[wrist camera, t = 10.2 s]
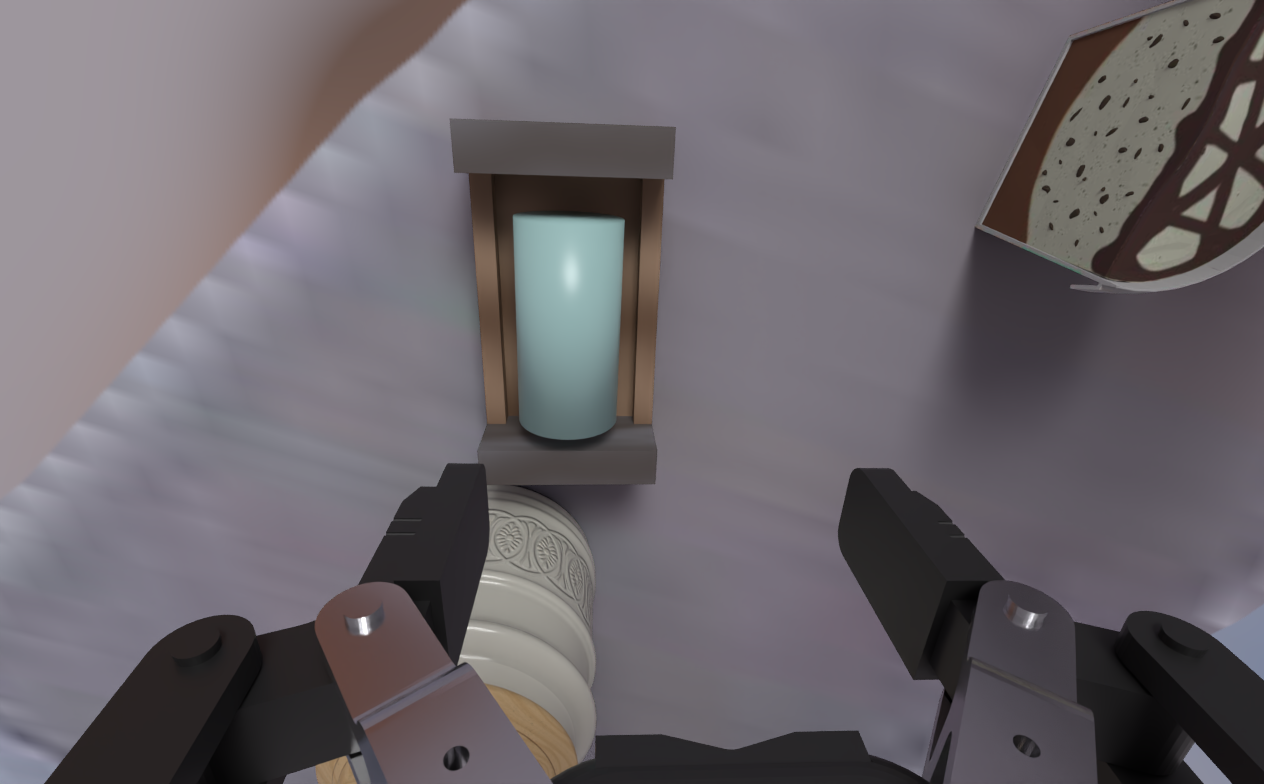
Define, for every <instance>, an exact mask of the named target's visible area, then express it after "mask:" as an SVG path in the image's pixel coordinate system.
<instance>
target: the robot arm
mask: <svg viewBox="0 0 1264 784" xmlns="http://www.w3.org/2000/svg"><path fill="white" fill-rule="evenodd" d="M489 537H490V521H489V507H488V493H487V480H486V470H485V466H484V464H457V463H449V464H447V465H446V467H445V469H444V471H443V474H442V476H441V478H440V480H439V482H438V485H437V487H420V488H418V489H417V490H416V491H415V492H413V493H412V494H411V495H410V496H408V497H407V498H406V499H405V500H404V501H402V503H401V505H400V507H399V509H398V511H397V513H396V515H395V517H394V521H392V522H391V524H390V526H389V528H388V530H387V532H386V536H384V537H383V539H382V541H381V543H380V545H379V547H378V548H377V550H376V552H375V554H374V556H373V558H372V560H371V562H370V563H369V565H368V567H367V569H366V571H365V573H364V575H363V577H362V578H361V580H360V582H359V584H358V585H357V586H354V587H351V588H349V589H347V590H345V591H343V592H341V593H339V594H338V595H336V596H335V597H333V598H332V599H331V600H330V601H328V602H327V603H326V604H325V605H324V607H323V608H322V609H321V610H320V612H319V614H318V616H317V618H316V620H315V621H312V622H310V623H307V624H303V625H300V626H296V627H292V628H287V629H283V630H279V631H275V632H271V633H267V634H262V635H258V636H256V634H255V630H254V627H253V625H252V624H251V623H250V621H248V620H247V619H245V618H243V617H240V616H235V615H218V616H212V617H207V618H203V619H200V620H197V621H194V622H192V623H189V624H187V625H185V626H183V627H181V628H179V629H177V630H175V631H173V632H172V633H170V634H168V635H167V636H166V637H164V638H163V639H162V640H160V641H159V642H158V643H157V644H156V645H154V646H153V647H152V648H151V649H150V651H149V652H148V653H147V654H146V655H145V656H144V658H143V659H142V660H141V662H140V663H139V664H138V665H137V667H136V668H135V669H134V670H133V672H132V673H131V674H130V675H129V677H128V678H127V679H126V681H125V682H124V683H123V684H122V686H121V687H120V688H119V689H118V691H117V692H116V693H115V694H114V696H113V697H112V698H111V700H110V701H109V702H108V703H107V705H106V706H105V707H104V708H103V710H102V711H101V712H100V714H99V715H98V716H97V717H96V719H95V720H94V721H93V722H92V724H91V725H90V726H89V727H88V729H87V730H86V731H85V733H84V734H83V735H82V736H81V738H80V739H79V740H78V741H77V743H76V744H75V745H74V747H73V748H72V749H71V750H70V752H69V753H68V754H67V755H66V757H65V758H64V759H63V760H62V762H61V763H60V764H59V766H58V767H57V768H56V769H55V771H54V772H53V773H52V774H51V776H50V777H49V778H48V779H47V781H46V782H45V783H44V784H283V782H284V779H285V777H286V775H287V774H290V773H294V772H297V771H300V770H303V769H306V768H309V767H312V766H315V765H318V764H321V763H325V762H328V761H331V760H334V759H337V758H340V757H343V756H346V757H347V760H348V762H349V765H350V767H351V770H352V772H353V775H354V777H355V780H356V782H357V784H1203V783H1202V781H1201V780H1200V779H1199V778H1198V777H1197V776H1196V774H1195V773H1194V772H1193V771H1192V770H1191V769H1190V767H1189V766H1188V765H1187V764H1186V763H1185V762H1184V760H1183V759H1184V758H1185V756H1186V755H1187V753H1188V752H1189V750H1190V748H1191V747H1192V745H1193V744H1194V742H1195V743H1196V744H1197V745H1198V746H1199V747H1200V748H1201V749H1202V750H1203V752H1204V753H1205V754H1206V755H1207V756H1208V757H1209V758H1210V759H1211V760H1212V762H1213V763H1214V764H1215V765H1216V766H1217V767H1218V768H1219V769H1220V770H1221V771H1222V773H1223V774H1224V775H1225V776H1226V777H1227V778H1228V779H1229V780H1230V782H1231V783H1232V784H1264V680H1263V679H1262V678H1260V677H1259V676H1258V675H1257V674H1256V673H1255V672H1254V671H1252V670H1251V669H1250V668H1249V667H1248V666H1247V665H1246V664H1244V663H1243V662H1242V661H1241V660H1240V659H1239V658H1238V657H1237V656H1235V655H1234V654H1233V653H1232V652H1231V651H1230V650H1229V649H1228V648H1226V647H1225V646H1224V645H1223V644H1222V643H1220V642H1219V641H1218V640H1217V639H1215V638H1214V637H1212V636H1211V635H1210V634H1208V633H1206V632H1205V631H1203V630H1201V629H1200V628H1198V627H1196V626H1194V625H1192V624H1190V623H1188V622H1185V621H1183V620H1181V619H1178V618H1176V617H1173V616H1170V615H1166V614H1163V613H1158V612H1152V611H1138V612H1134V613H1132V614H1130V615H1129V616H1128V618H1127V619H1126V621H1125V623H1124V625H1123V627H1122V629H1121V631H1120V632H1118V631H1113V630H1109V629H1104V628H1100V627H1095V626H1091V625H1086V624H1082V623H1078V622H1073V619H1072V617H1071V616H1070V615H1069V613H1068V612H1067V611H1066V610H1065V609H1064V608H1063V607H1062V606H1061V605H1060V604H1059V603H1058V602H1057V601H1055V600H1054V599H1052V598H1051V597H1049V596H1048V595H1046V594H1044V593H1043V592H1041V591H1039V590H1037V589H1035V588H1032V587H1030V586H1027V585H1024V584H1021V583H1017V582H1013V581H1006V580H1004V578H1003V577H1002V576H1001V575H1000V574H999V573H998V572H997V571H996V569H995V568H994V567H993V566H992V565H991V564H990V563H989V562H988V561H987V559H986V558H985V557H984V556H983V555H982V554H981V553H980V552H979V550H978V549H977V548H976V547H975V546H974V545H973V544H972V543H971V542H970V540H969V539H968V538H964V534H963V533H962V532H961V530H960V529H959V528H958V527H957V526H956V525H954V524H952V520H951V519H950V518H949V517H948V516H947V515H946V514H945V513H944V511H943V510H942V509H941V508H940V507H939V506H938V505H937V504H935V503H934V502H932V501H931V500H929V499H928V498H926V497H924V496H923V495H921V494H920V493H918V492H917V491H911V490H910V489H909V488H908V486H907V485H906V484H905V483H904V482H903V481H902V479H901V478H900V477H899V476H898V475H897V474H896V472H895V471H894V470H892V469H889V468H856V469H854V470H853V471H852V473H851V475H850V478H849V483H848V487H847V491H846V496H845V500H844V505H843V509H842V513H841V518H840V522H839V527H838V540H839V546H840V550H841V552H842V555H843V557H844V558H845V560H846V562H847V564H848V565H849V567H850V569H851V571H852V572H853V574H854V576H855V578H856V579H857V581H858V583H859V585H860V587H861V588H862V590H863V592H864V594H865V595H866V597H867V599H868V601H869V602H870V604H871V606H872V608H873V609H874V611H875V613H876V615H877V616H878V618H879V620H880V622H881V624H882V625H883V627H884V629H885V631H886V632H887V634H888V636H889V638H890V639H891V641H892V643H893V645H894V646H895V648H896V650H897V652H898V653H899V655H900V657H901V659H902V661H903V662H904V664H905V666H906V668H907V669H908V671H909V673H910V675H911V676H912V678H913V680H934V679H939V680H940V681H941V683H942V684H943V686H944V689H943V692H942V695H941V697H940V700H939V704H938V708H937V713H936V717H935V721H934V726H933V730H932V735H931V739H930V744H929V748H928V752H927V757H926V761H925V766H924V770H923V774H922V777H920V776H918V775H917V774H915V773H913V772H911V771H910V770H908V769H906V768H904V767H901V766H899V765H897V764H895V763H893V762H890V761H887V760H884V759H882V758H879V757H876V756H872V755H868V752H867V750H866V748H865V745H864V743H863V741H862V738H861V736H860V734H859V731H817V732H793V733H790V734H787V735H783V736H780V737H777V738H773V739H770V740H767V741H763V742H760V743H757V744H753V745H750V746H747V747H743V748H740V749H736V750H728V749H723V748H718V747H714V746H710V745H705V744H701V743H697V742H692V741H688V740H683V739H679V738H675V737H670V736H666V735H662V734H658V735H606V736H596V741H595V759H592V760H588V761H585V762H582V763H580V764H577V765H575V766H573V767H571V768H568V769H566V770H565V771H563V772H561V773H560V774H558V775H556V776H555V777H553V778H551V779H549V777H548V776H547V774H546V773H545V771H544V770H543V768H542V767H541V766H540V764H539V763H538V761H537V760H536V758H535V757H534V755H533V754H532V752H531V751H530V750H529V748H528V747H527V745H526V744H525V742H524V741H523V739H522V738H521V736H520V735H519V734H518V732H517V731H516V729H515V728H514V726H513V725H512V723H511V722H510V720H509V719H508V717H507V716H506V715H505V713H504V712H503V710H502V709H501V707H500V706H499V704H498V703H497V701H496V700H495V699H494V697H493V696H492V694H491V693H490V691H489V690H488V688H487V687H486V685H485V684H484V683H483V681H482V680H481V678H480V677H479V675H478V674H477V672H476V671H475V670H474V668H473V667H472V666H471V665H470V664H468V663H466V662H463V663H461V664H460V665H458V661H459V658H460V654H461V650H462V646H463V643H464V639H465V635H466V631H467V628H468V624H469V620H470V616H471V613H472V609H473V605H474V601H475V598H476V594H477V590H478V587H479V583H480V579H481V575H482V572H483V568H484V564H485V560H486V557H487V553H488V547H489ZM457 665H458V666H457Z"/></svg>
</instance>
